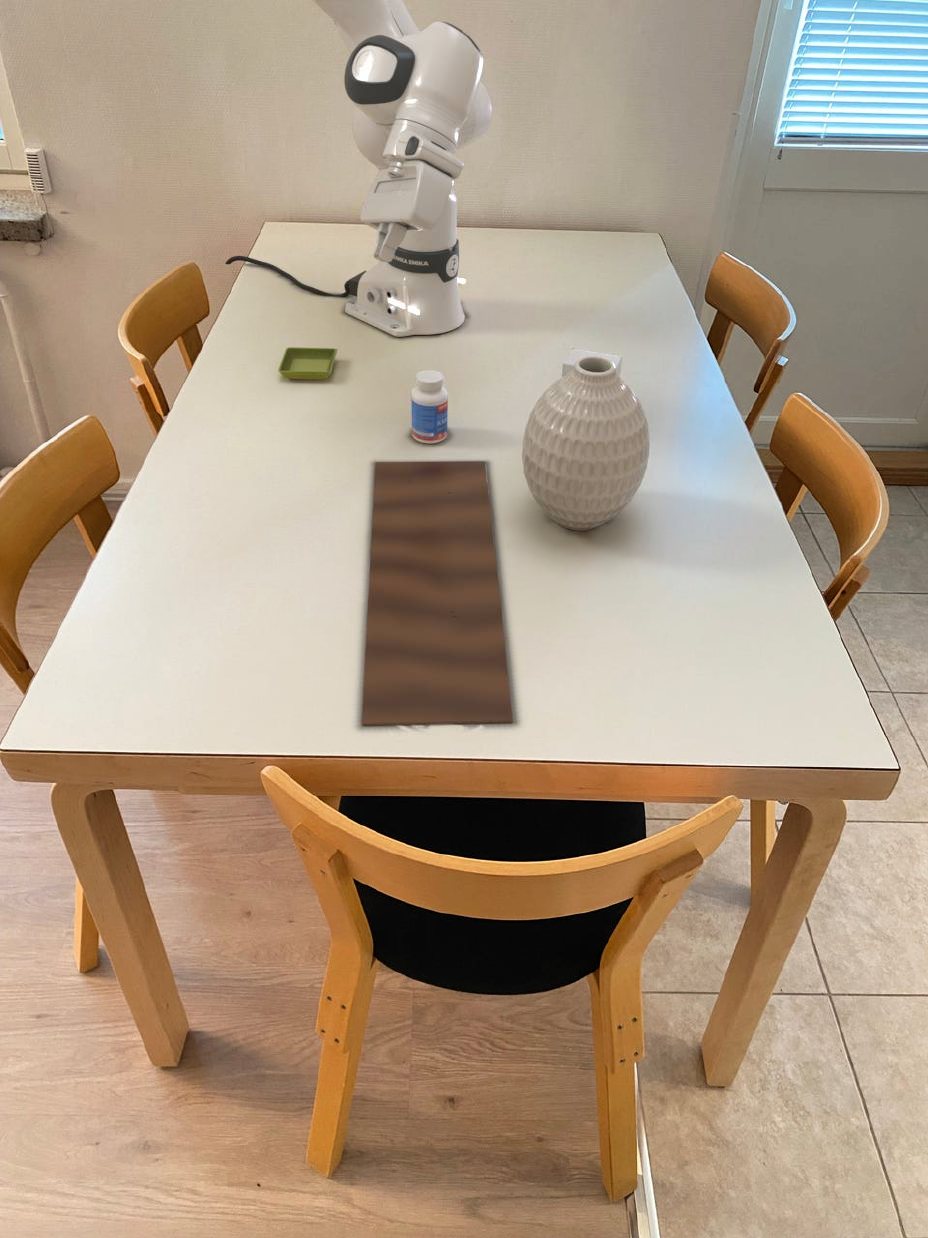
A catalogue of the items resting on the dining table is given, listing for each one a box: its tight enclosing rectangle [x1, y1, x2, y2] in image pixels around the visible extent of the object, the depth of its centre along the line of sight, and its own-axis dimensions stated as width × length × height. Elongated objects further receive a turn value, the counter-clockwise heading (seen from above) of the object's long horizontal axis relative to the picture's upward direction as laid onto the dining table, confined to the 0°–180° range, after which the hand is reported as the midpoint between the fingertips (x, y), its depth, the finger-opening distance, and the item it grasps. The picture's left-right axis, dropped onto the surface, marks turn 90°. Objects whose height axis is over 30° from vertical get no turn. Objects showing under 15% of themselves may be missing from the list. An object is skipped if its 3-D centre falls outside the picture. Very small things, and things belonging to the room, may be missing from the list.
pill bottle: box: [410, 369, 449, 444], centre depth 143 cm, size 6×5×10 cm
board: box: [361, 460, 514, 726], centre depth 121 cm, size 51×16×1 cm, turn 2°
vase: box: [521, 356, 651, 531], centre depth 124 cm, size 16×16×22 cm
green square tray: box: [277, 346, 338, 380], centre depth 161 cm, size 9×9×2 cm
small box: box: [561, 348, 623, 378], centre depth 147 cm, size 8×6×10 cm
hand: (381, 260), depth 131 cm, fingers closed
